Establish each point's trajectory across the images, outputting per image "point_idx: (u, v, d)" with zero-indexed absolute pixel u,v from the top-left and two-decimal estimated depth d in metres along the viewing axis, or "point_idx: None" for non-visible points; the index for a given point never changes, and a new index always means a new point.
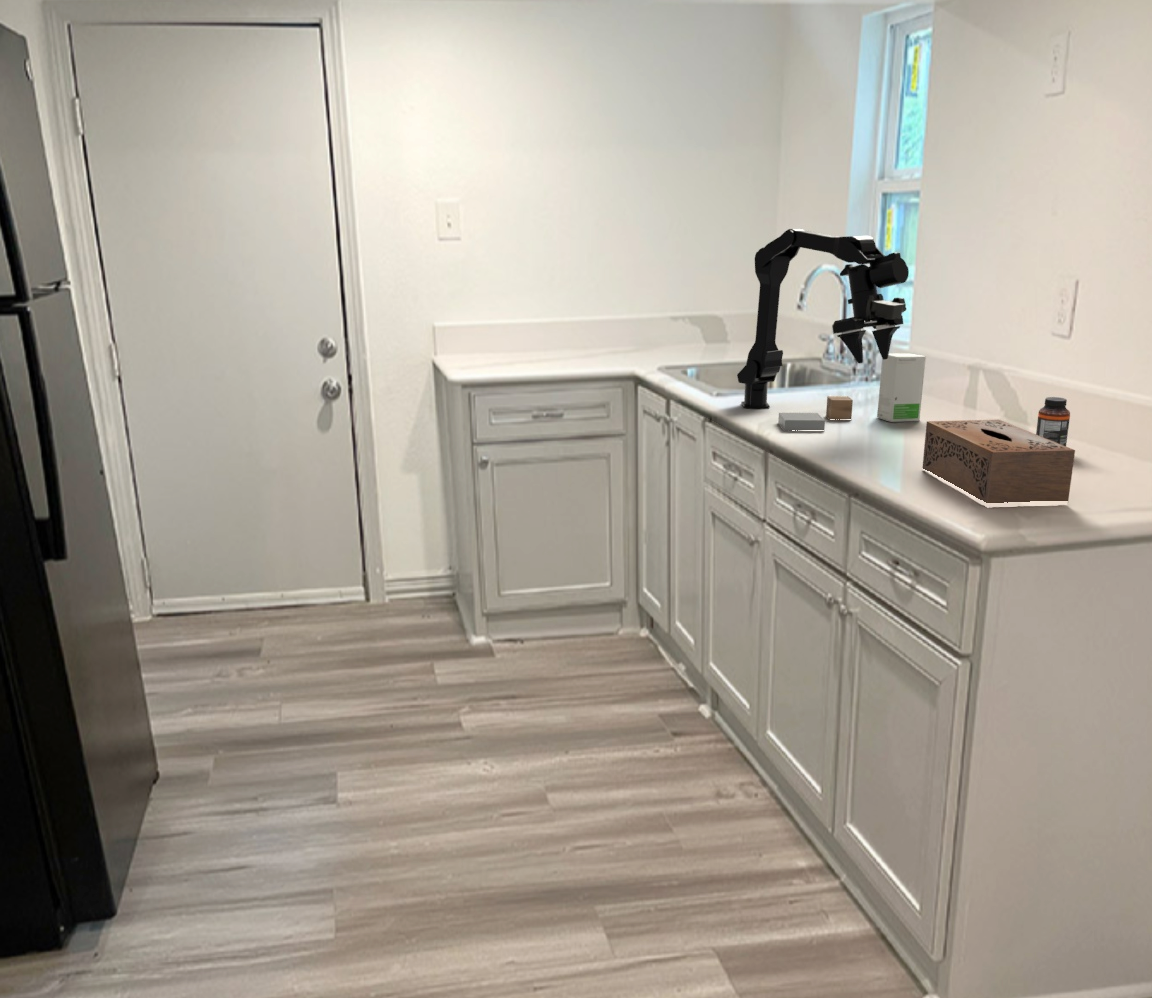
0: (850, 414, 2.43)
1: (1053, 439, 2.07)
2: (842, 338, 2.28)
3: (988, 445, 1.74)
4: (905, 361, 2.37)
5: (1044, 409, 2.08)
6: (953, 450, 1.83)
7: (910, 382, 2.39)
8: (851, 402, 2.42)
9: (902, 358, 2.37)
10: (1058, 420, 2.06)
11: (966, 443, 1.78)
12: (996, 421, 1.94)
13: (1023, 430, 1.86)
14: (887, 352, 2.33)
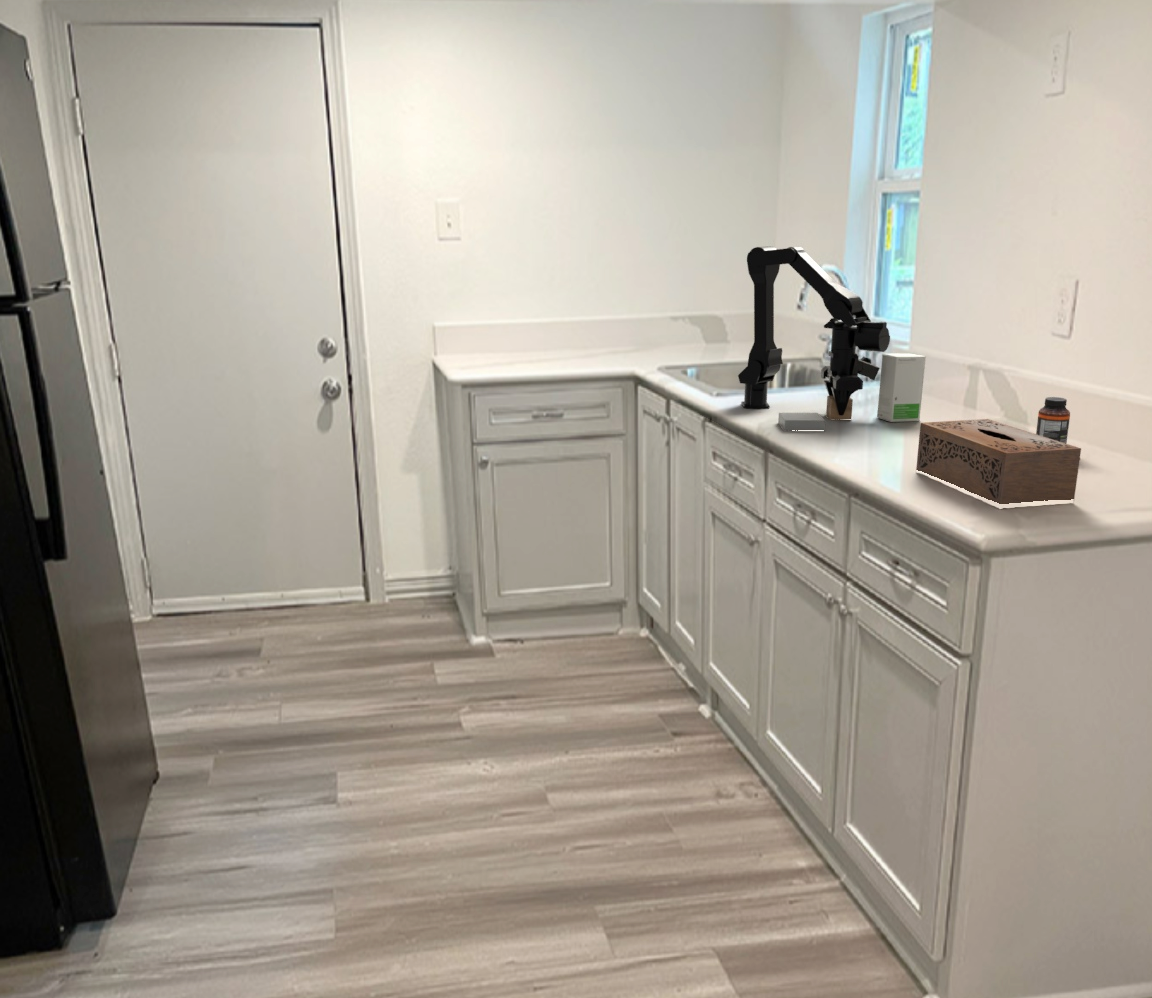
0: (850, 414, 2.43)
1: (1053, 439, 2.07)
2: (834, 391, 2.39)
3: (997, 446, 1.74)
4: (905, 361, 2.37)
5: (1044, 409, 2.08)
6: (955, 452, 1.82)
7: (910, 382, 2.39)
8: (851, 402, 2.42)
9: (902, 358, 2.37)
10: (1058, 420, 2.06)
11: (972, 444, 1.77)
12: (986, 420, 1.94)
13: (1018, 429, 1.86)
14: None
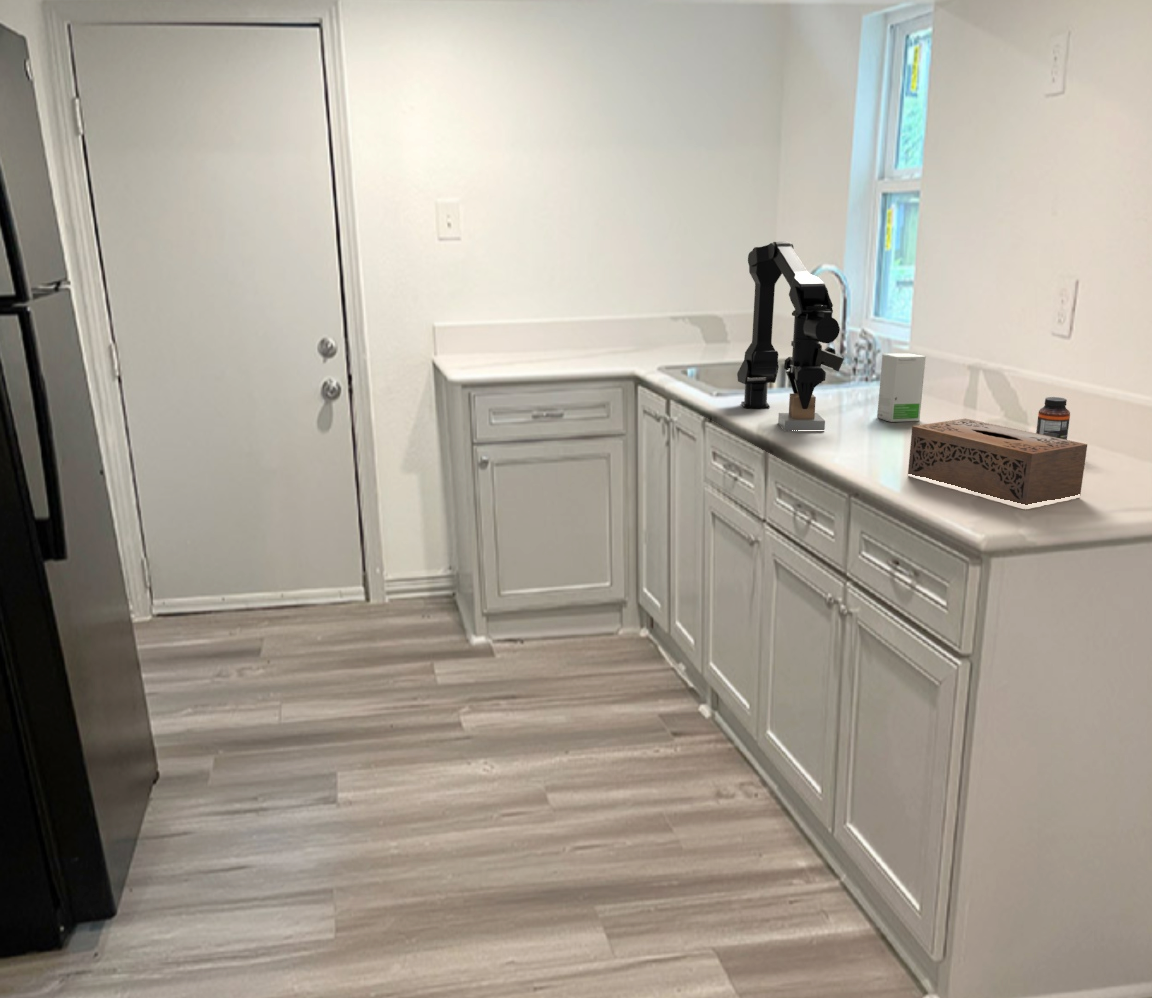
0: (813, 412, 2.32)
1: None
2: (797, 384, 2.27)
3: (1013, 446, 1.73)
4: (905, 361, 2.37)
5: (1044, 409, 2.08)
6: (962, 454, 1.80)
7: (910, 382, 2.39)
8: (813, 400, 2.31)
9: (902, 358, 2.37)
10: (1058, 420, 2.06)
11: (985, 446, 1.76)
12: (967, 420, 1.94)
13: (1007, 427, 1.88)
14: None
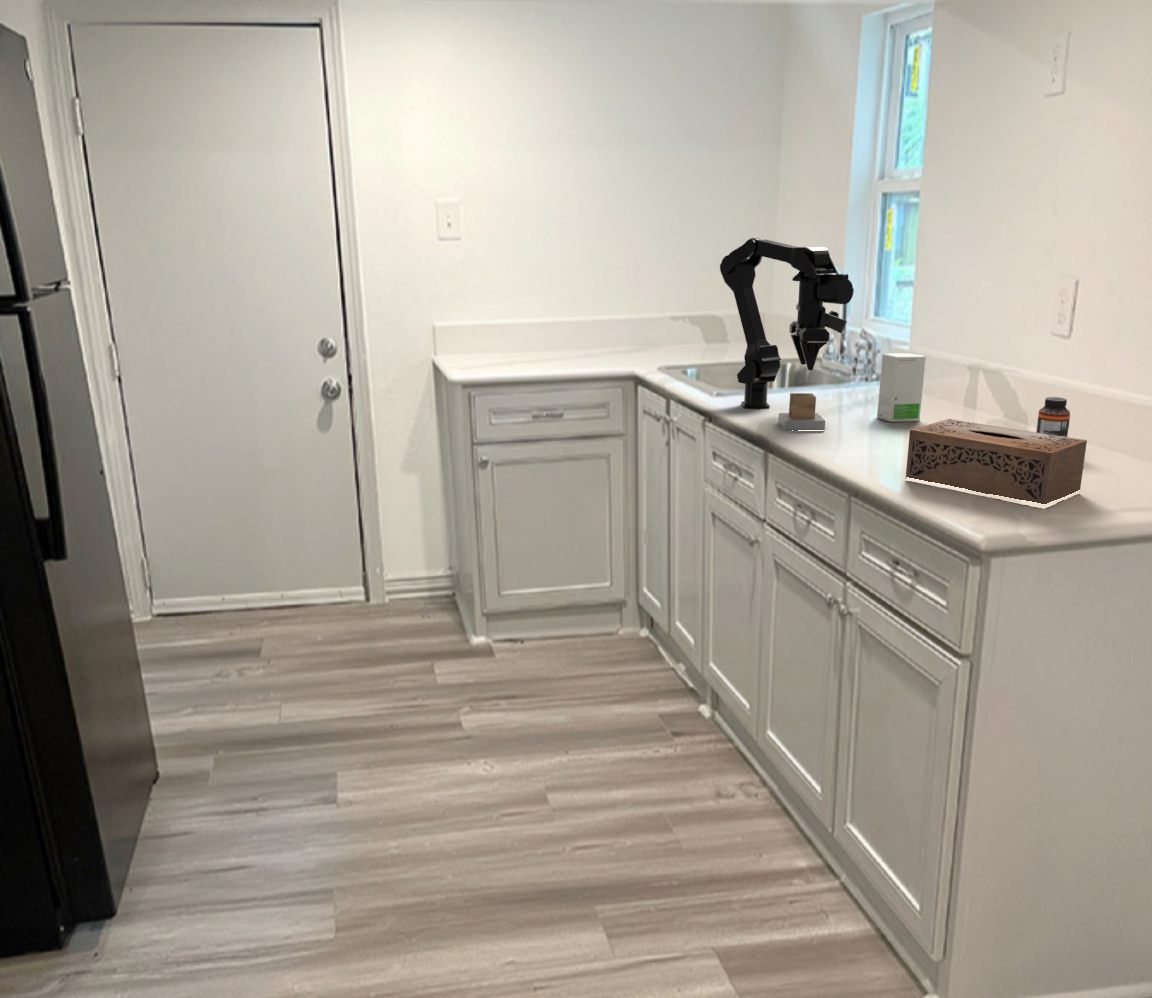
0: (813, 412, 2.32)
1: None
2: (803, 345, 2.37)
3: (1026, 446, 1.73)
4: (905, 361, 2.37)
5: (1044, 409, 2.08)
6: (970, 456, 1.79)
7: (910, 382, 2.39)
8: (814, 400, 2.31)
9: (902, 358, 2.37)
10: (1058, 420, 2.06)
11: (996, 447, 1.75)
12: (953, 421, 1.94)
13: (997, 427, 1.89)
14: None
